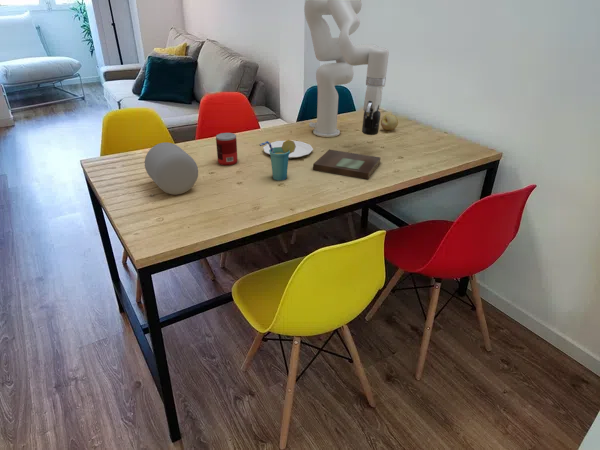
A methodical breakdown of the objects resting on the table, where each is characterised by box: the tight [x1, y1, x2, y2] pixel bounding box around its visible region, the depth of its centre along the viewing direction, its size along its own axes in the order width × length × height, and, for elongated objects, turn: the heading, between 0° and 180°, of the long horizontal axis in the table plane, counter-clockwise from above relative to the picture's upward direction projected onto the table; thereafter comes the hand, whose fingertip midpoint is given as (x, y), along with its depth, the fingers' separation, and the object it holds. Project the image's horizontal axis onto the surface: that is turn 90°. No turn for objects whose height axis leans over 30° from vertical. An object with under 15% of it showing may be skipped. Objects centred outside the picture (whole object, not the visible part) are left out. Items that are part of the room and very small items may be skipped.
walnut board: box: [312, 149, 381, 180], centre depth 177 cm, size 22×18×3 cm
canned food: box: [215, 132, 238, 167], centre depth 177 cm, size 8×8×11 cm
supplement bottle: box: [361, 105, 381, 136], centre depth 184 cm, size 7×7×12 cm
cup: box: [259, 139, 296, 181], centre depth 163 cm, size 14×8×15 cm, turn 122°
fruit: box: [380, 113, 399, 132], centre depth 217 cm, size 8×8×8 cm
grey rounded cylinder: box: [144, 142, 199, 196], centre depth 157 cm, size 19×15×25 cm
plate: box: [262, 139, 314, 159], centre depth 191 cm, size 21×21×2 cm
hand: (370, 125), depth 185 cm, fingers closed on supplement bottle, 6 cm apart
